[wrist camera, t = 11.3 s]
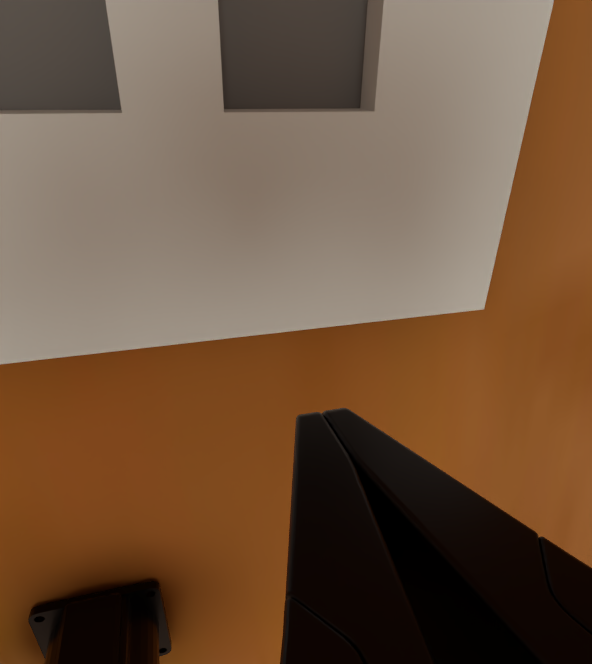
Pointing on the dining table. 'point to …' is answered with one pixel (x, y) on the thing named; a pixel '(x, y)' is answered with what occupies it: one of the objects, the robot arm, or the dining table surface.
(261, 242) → the deck
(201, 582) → the dining table surface
